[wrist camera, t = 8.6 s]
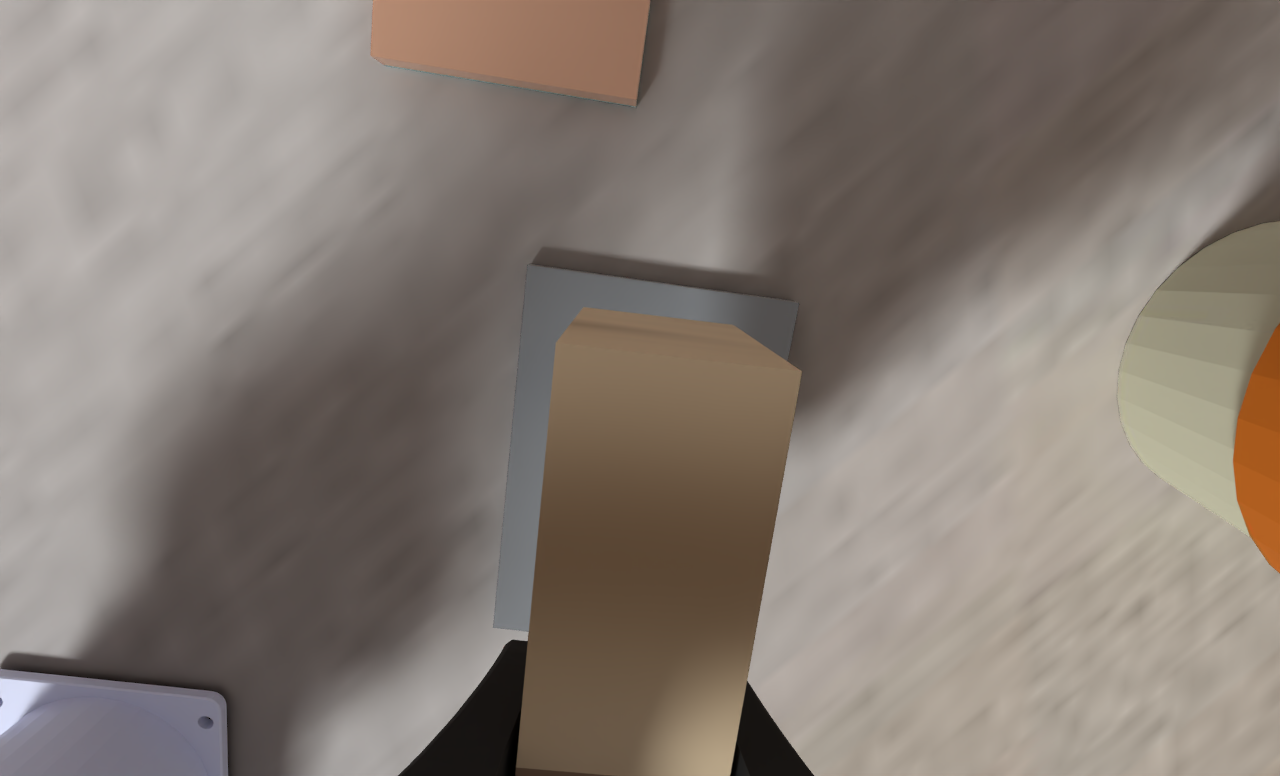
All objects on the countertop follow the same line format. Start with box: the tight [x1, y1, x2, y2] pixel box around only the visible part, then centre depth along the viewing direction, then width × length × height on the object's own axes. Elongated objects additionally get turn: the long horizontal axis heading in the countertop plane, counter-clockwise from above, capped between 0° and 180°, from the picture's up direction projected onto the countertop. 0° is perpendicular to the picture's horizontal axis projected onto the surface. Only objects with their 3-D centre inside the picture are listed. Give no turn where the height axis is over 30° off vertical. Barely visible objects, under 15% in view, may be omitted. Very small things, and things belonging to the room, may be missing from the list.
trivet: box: [493, 264, 799, 632], centre depth 20 cm, size 12×8×1 cm, turn 172°
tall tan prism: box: [515, 307, 802, 776], centre depth 11 cm, size 10×3×5 cm, turn 173°
